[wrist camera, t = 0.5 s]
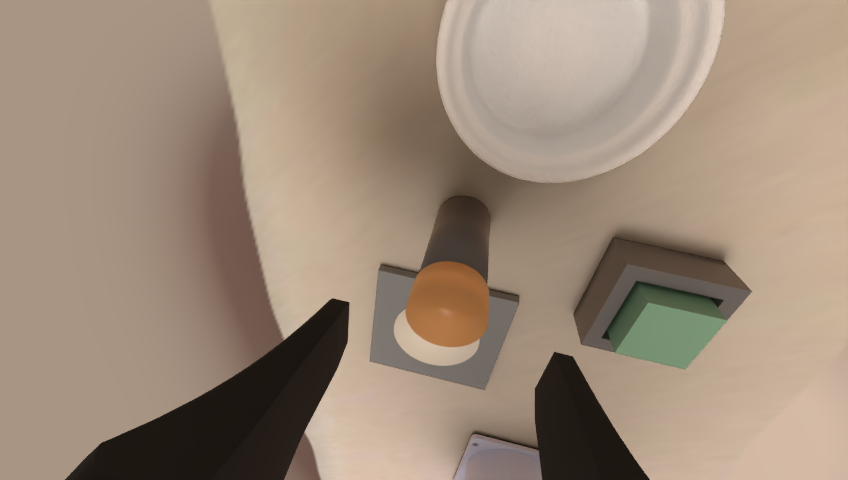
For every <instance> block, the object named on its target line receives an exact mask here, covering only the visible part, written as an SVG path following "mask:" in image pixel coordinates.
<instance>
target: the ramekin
mask: <svg viewBox="0 0 848 480" xmlns="http://www.w3.org/2000/svg"><path fill="white" fill-rule="evenodd" d="M724 19H725V0H447V1H446V3H445V8H444V11H443V15H442V18H441V23H440V28H439V34H438V40H437V51H436V70H437V80H438V86H439V91H440V95H441V99H442V102H443V105H444V108H445V111H446V113H447V115H448V117H449V119H450V122H451V124H452V125H453V127H454V129H455V130H456V132H457V134H458V135H459V136H460V138H461V139H462V140H463V142H464V143H465V144H466V145H467V146H468V148H469V149H470V150H471V151H472V152H473V153H474V154H475V155H476V156H477V157H479V158H480V159H481V160H482V161H484V162H485V163H486V164H488V165H489V166H491V167H493V168H494V169H496V170H498V171H500V172H502V173H504V174H506V175H509V176H512V177H514V178H517V179H521V180H526V181H531V182H538V183H565V182H572V181H578V180H582V179H586V178H591V177H593V176H597V175H600V174H602V173H605V172H607V171H610V170H612V169H614V168H616V167H618V166H620V165H622V164H625V163H626V162H628V161H630V160H632V159H633V158H635V157H637V156H639V155H640V154H642V153H643V152H644V151H645V150H647V149H648V148H649V147H651V146H652V145H653V144H654V143H655V142H657V141H658V140H659V139H660V138H661V137H662V136H663V135H664V134H665V133H667V132H668V131H669V130H670V129H671V127H672V126H673V125H674V124H675V123H676V122H677V121H678V120H679V119H680V118H681V117H682V115H683V113H684V112H685V111H686V110H687V109H688V108H689V107H690V105H691V103H692V102H693V100H694V99H695V98H696V96H697V95H698V93H699V91H700V89H701V87H702V85H703V83H704V82H705V80H706V79H707V76H708V74H709V72H710V69H711V67H712V64H713V62H714V60H715V57H716V54H717V50H718V48H719V44H720V41H721V37H722V31H723V24H724Z"/></svg>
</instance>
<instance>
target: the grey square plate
mask: <svg viewBox="0 0 848 480" xmlns="http://www.w3.org/2000/svg"><path fill="white" fill-rule="evenodd" d="M417 275H418V273H415V272H410V271H406V270H402V269H397V268H393V267H389V266H384V265H381V266H380V268H379V270H378V280H377V291H376V301H375V311H374V321H373V332H372V342H371V352H370V362H374V363H378V364H382V365H386V366H390V367H394V368H398V369H402V370H406V371H410V372H414V373H418V374H422V375H426V376H430V377H434V378H438V379H442V380H446V381H450V382H454V383H458V384H462V385H466V386H470V387H474V388H478V389H482V390H485V388H486V385H487V383H488V380H489V377H490V375H491V372H492V370H493V367H494V365H495V362H496V360H497V357H498V355H499V352H500V350H501V347H502V345H503V342H504V340H505V337H506V335H507V332H508V330H509V327H510V324H511V322H512V319H513V317H514V314H515V312H516V309H517V307H518V304H519V296H515V295H510V294H506V293H502V292H497V291H493V290H489V319H488V327H487V329H486V331H485V333H484V334H483V336H482V337H481V338H479V339H478V340H477V341H475V342H474V343H471V344H469V345H466V346H461V347H443V346H439V345H435V344H432V343H430V342H428V341H426V340H424V339H422V338H421V337H420V336H418V335H417V334H416V333H415V332H414V331H413V330H412V329H411V327H410V326H409V324H408V322H407V319H406V313H405V312H406V305H407V302H408V299H409V296H410V293H411V290H412V287H413V283H414V280H415V278H416V276H417Z"/></svg>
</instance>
